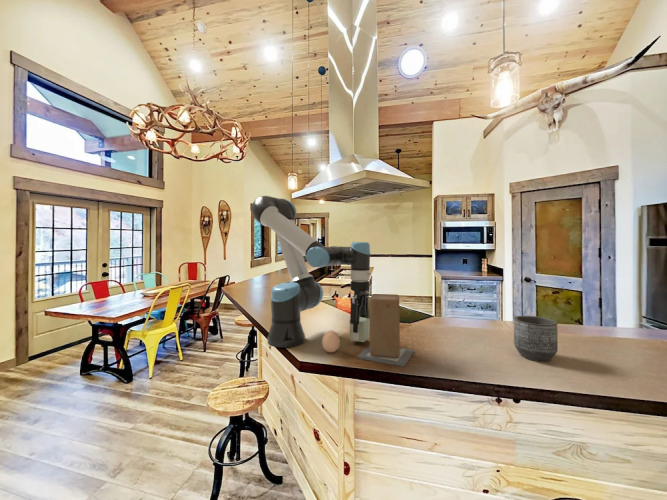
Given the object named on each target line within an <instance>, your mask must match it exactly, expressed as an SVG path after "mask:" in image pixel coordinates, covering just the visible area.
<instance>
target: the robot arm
mask: <svg viewBox="0 0 667 500" xmlns="http://www.w3.org/2000/svg"><path fill="white" fill-rule="evenodd" d="M251 214H252V216H253V218H254V219H255V221H256V222H258V223H259V224H261V225H262V226H264V227H268V228H269V229H271V230H272V231H273V232H274V233H275V234H276V237H277V239H278V244H279V247H280V249H281V253H282V256H283V259H284V262H285V263H284V264H285V265H286V269H287V272H288V276H289V278H290V281H288V282H284V283H283V282H282V283H279V284H276V285H274V286H272V289H271V295H270V304H271V311H270V312H271V325H270V328H269V332H268V335H267V344H268V345H269V346H271V347H274V348H292V347H297V346H300V345H302V344H303V343H304V342H306V341H305V340H306V335H305V332H304V327H303V326H302V322H301V312H304V311H307V310H311V309H314V308H315V307H317V306H318V305H320V304H321V302H322V300H323V296H324V290H323V288H322V286H321V284H320V283H318V282H317V281H315V278H314V275H312V274H310V273H309V270H308V267H307V265H306V261H307V263H308V265H310V266H311V267H313V268H324V267H331V266H342V265H343V266H350V290H351V291H352V292H353V297H351V298H350V299H349V300H350V314H349V315H350V316H349V317H350V318H349V324H350V323H351V324H353V340H352V341H354V340H355V341H354V342H359V341H360V324H359V319H360V317H364V318H369V319H370V315H369V297H370V294H369V293H367V292H369V291H370V290H371V289H370V285H371V283H370V281H369V280H370V276H371V274H372V273H371V271H370V269H371V268H370V267H371V266H370V263H371V260H370V259H371V247H370V243H369V242H366V241H364V242H363V241H353V242H351V243H350V246H337V245H336V246H335V245H334V246H333V245H332V246H326V245H325V246H324V245H323V243H321V242H320V241H318V240H317V239H316V238H314V237H313V236H311V235H310V234H309V233H307V231H304V230H303V229H302V228H300V227H299V226H298V225H296V224H295V223H296V219H297V218H296V216H297V209H296V206H295V204H294V203H293V202H291V201H290V200H287V199H285V198H278V197H273V196H270V195H269V196H268V195H261V196H259V197H257V198H255V199H254V201H253V202H252V204H251ZM304 257H305V258H306V261H305V259H304Z"/></svg>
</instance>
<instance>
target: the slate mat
mask: <svg viewBox="0 0 667 500" xmlns="http://www.w3.org/2000/svg"><path fill="white" fill-rule="evenodd" d="M413 354H414V349H409V348H404V347H400V355H399V357H397V358H394V357H381V356H372V355H371V354H370V344H369V345H368V346H366V348H365V349H364V350H362V351H361V352H360V353H359V354H358V355H357V359H359V360H367V361H371V362H375V363H381V364H386V365H391V366H397V367H401V368H405V366H406V365H407V363H408V362H409V360H410V359H411V357H412V355H413Z"/></svg>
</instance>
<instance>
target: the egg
mask: <svg viewBox="0 0 667 500" xmlns="http://www.w3.org/2000/svg"><path fill="white" fill-rule="evenodd" d="M321 345H322V348H323V350H324V351H326V352H328V353H335V352H337V350H338V349H339V348H340V345H341V339H340V336H339V334H338V333H337V332H336V331H334V330H330V329H329V330H327V331H326V332H325V333H324V335H323V337H322V339H321Z"/></svg>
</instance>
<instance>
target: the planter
mask: <svg viewBox="0 0 667 500" xmlns="http://www.w3.org/2000/svg"><path fill="white" fill-rule="evenodd" d="M558 331H559V330H558V321H556V320H554V319H552V318H548V317H547V318H546V317H544V316H543V317H542V316H537V315H536V316H535V315H517V316H513V345H514V347H515V349H516V350H517V352H518V353H519V355H520V356H521V357H522V358H525V359H526V360H529V361H534V362H543V363H544V362H546V363H547V362H550V361H551V360H552V359H553V358H554V357H555V355H556V354H557V353H558V350H559V349H558V348H559V347H558Z"/></svg>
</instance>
